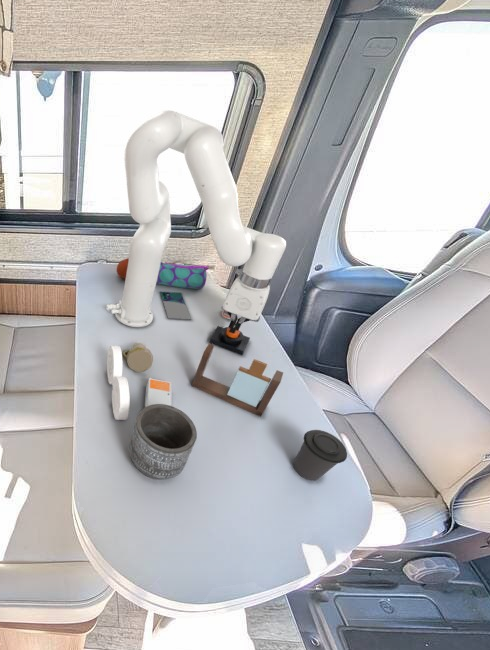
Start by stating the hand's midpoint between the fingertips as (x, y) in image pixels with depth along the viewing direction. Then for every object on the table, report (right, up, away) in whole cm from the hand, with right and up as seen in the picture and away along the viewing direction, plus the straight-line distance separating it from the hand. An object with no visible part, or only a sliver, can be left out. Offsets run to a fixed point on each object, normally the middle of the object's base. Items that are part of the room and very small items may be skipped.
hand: (232, 330), depth 119 cm
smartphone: (-12, +8, +18) cm, 23 cm away
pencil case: (-9, +17, +29) cm, 35 cm away
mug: (-31, -9, -6) cm, 32 cm away
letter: (-39, -17, -16) cm, 45 cm away
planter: (-33, -29, -32) cm, 54 cm away
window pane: (-6, -18, -18) cm, 26 cm away
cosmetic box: (-27, -14, -15) cm, 34 cm away
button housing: (0, -4, +3) cm, 5 cm away
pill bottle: (+5, +5, +14) cm, 16 cm away
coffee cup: (+2, -31, -32) cm, 44 cm away
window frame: (-9, -17, -15) cm, 25 cm away
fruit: (-26, +20, +32) cm, 46 cm away
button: (0, -1, +1) cm, 2 cm away
